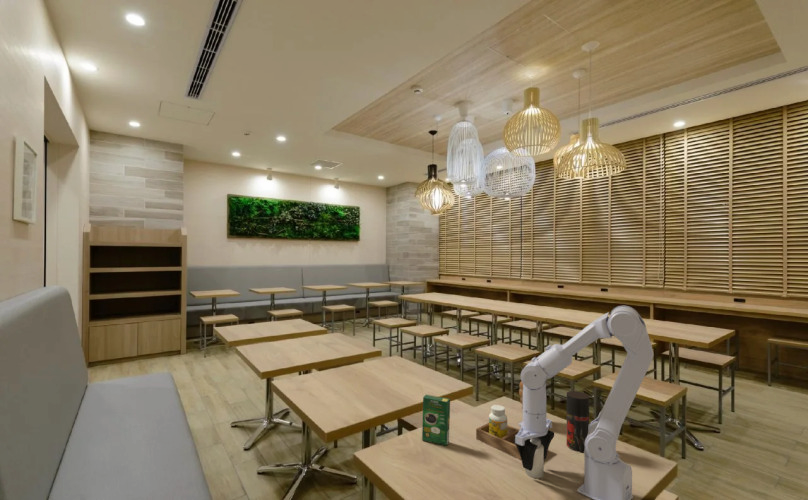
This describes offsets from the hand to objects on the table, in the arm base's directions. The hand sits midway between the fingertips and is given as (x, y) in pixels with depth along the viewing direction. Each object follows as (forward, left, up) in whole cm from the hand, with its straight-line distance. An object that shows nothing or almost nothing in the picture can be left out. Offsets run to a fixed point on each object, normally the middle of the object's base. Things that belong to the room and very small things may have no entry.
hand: (534, 463), depth 95 cm
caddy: (+12, -8, -2) cm, 14 cm away
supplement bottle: (+16, -8, -3) cm, 18 cm away
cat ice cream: (+15, -26, -3) cm, 30 cm away
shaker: (0, 0, -2) cm, 2 cm away
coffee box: (+27, +7, -3) cm, 29 cm away
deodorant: (-2, -22, -3) cm, 22 cm away
